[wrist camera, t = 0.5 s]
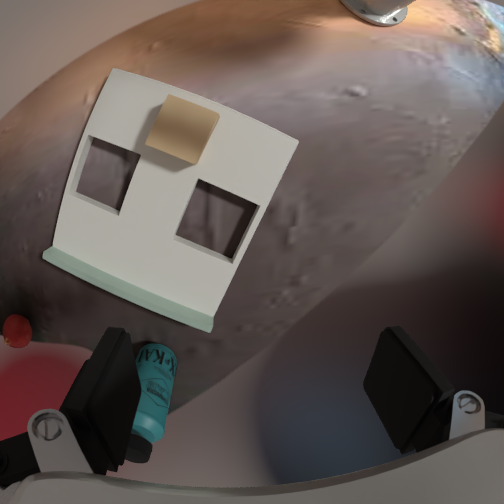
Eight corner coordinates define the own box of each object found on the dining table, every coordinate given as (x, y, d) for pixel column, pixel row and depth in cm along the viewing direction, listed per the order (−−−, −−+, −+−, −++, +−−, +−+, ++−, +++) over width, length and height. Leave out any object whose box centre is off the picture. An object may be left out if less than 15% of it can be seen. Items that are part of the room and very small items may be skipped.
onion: (38, 339, 39) (18, 364, 32) (16, 324, 38) (-6, 347, 31) (40, 315, 38) (17, 340, 30) (16, 300, 37) (-8, 323, 29)
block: (173, 99, 29) (168, 93, 26) (219, 117, 30) (219, 113, 27) (151, 145, 30) (144, 144, 27) (197, 163, 32) (194, 164, 29)
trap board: (118, 71, 28) (105, 62, 24) (295, 142, 34) (304, 140, 29) (58, 247, 35) (42, 258, 31) (211, 315, 40) (209, 333, 36)
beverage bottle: (169, 373, 43) (151, 475, 24) (133, 355, 42) (99, 455, 23) (186, 348, 42) (171, 457, 23) (147, 328, 40) (110, 433, 21)
